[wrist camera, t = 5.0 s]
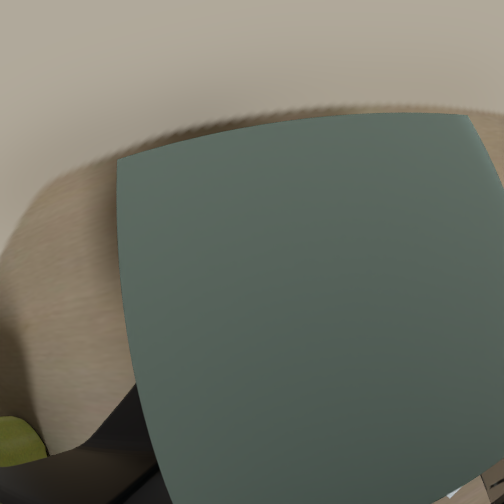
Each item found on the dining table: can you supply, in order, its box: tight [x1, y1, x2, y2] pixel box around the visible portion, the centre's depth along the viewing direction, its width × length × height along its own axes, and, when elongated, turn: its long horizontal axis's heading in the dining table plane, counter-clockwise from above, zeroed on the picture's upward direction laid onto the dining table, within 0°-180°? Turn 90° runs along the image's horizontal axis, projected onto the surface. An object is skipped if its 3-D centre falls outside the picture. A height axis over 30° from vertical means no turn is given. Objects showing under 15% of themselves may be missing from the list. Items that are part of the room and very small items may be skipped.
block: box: [117, 113, 504, 504], centre depth 8 cm, size 4×4×13 cm
